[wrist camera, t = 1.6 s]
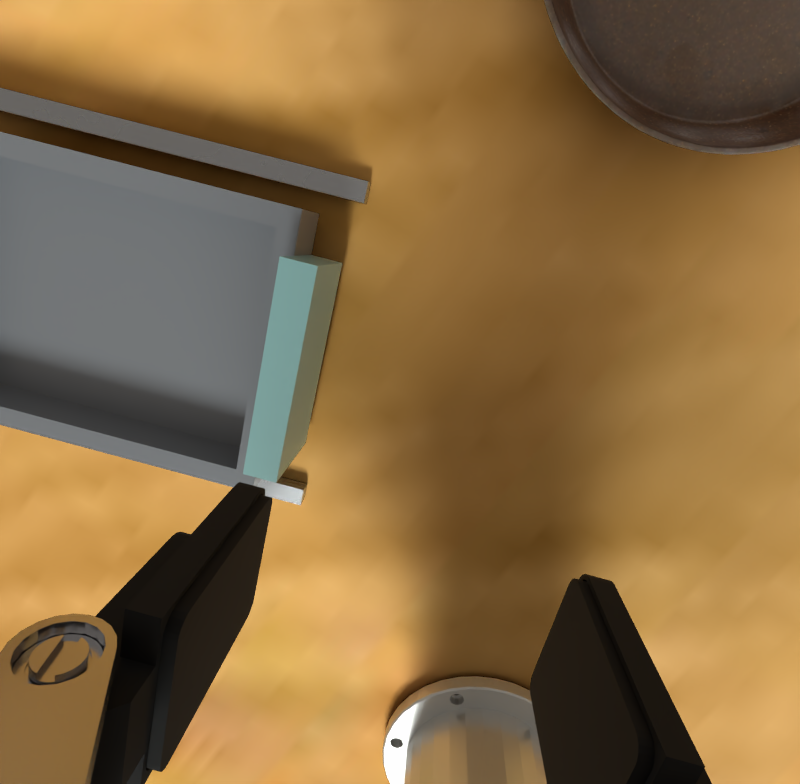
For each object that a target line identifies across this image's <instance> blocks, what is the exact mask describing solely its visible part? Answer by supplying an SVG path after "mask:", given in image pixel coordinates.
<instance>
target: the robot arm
mask: <svg viewBox="0 0 800 784" xmlns="http://www.w3.org/2000/svg"><path fill="white" fill-rule="evenodd" d="M271 506H272V497H268V496H265V489H264V488H261V487H257V486H253V485H250V484H246V483H242V482H238V483H237V484H236V485H235V486H234V487H233V488H232V490H231V491H230V492H229V493H228V494H227V495H226V496H225V497H224V498H223V500H222V501H221V502H220V503H219V504H218V505H217V506H216V507H215V508H214V510H213V511H212V512H211V513H210V514H209V515H208V516H207V517H206V519H205V520H204V521H203V522H202V523H201V524H200V525H199V526H198V527H197V529H196V530H195V531H194V532H193V533H192V534H187V533H183V532H177V533H176V534H174V535H173V536H172V537H171V538H170V539H169V540H168V541H167V542H166V543H165V544H164V545H163V546H162V547H161V548H160V549H159V550H158V552H157V553H156V554H155V555H154V556H153V557H152V558H151V559H150V560H149V561H148V562H147V563H146V564H145V565H144V566H143V567H142V568H141V569H140V570H139V571H138V572H137V573H136V574H135V576H134V577H133V578H132V579H131V580H130V581H129V582H128V583H127V584H126V585H125V586H124V587H123V588H122V589H121V590H120V591H119V592H118V593H117V594H116V595H115V596H114V597H113V598H112V600H111V601H110V602H109V603H108V604H107V605H106V606H105V607H104V608H103V609H102V610H101V611H100V612H99V613H98V614H97V615H96V616H95V617H94V616H91V615H85V614H68V615H60V616H54V617H51V618H48V619H45V620H42V621H39V622H37V623H35V624H33V625H31V626H29V627H27V628H25V629H23V630H22V631H20V632H19V633H18V634H17V635H16V636H14V637H13V638H12V639H11V640H9V641H8V642H7V644H6V645H5V647H4V648H3V650H2V651H1V652H0V784H145V782H146V780H147V779H148V777H149V775H150V773H151V772H152V770H156V771H160V772H162V771H163V770H164V769H165V767H166V766H167V764H168V762H169V761H170V759H171V757H172V755H173V753H174V751H175V750H176V748H177V746H178V744H179V742H180V740H181V739H182V737H183V735H184V733H185V731H186V729H187V728H188V726H189V724H190V722H191V720H192V718H193V717H194V715H195V713H196V711H197V709H198V707H199V705H200V704H201V702H202V700H203V698H204V696H205V694H206V693H207V691H208V689H209V687H210V685H211V683H212V682H213V680H214V678H215V676H216V674H217V672H218V671H219V669H220V667H221V665H222V663H223V661H224V659H225V658H226V656H227V654H228V652H229V650H230V648H231V647H232V645H233V643H234V641H235V639H236V637H237V636H238V634H239V632H240V630H241V628H242V626H243V625H244V623H245V621H246V619H247V617H248V615H249V613H250V610H251V607H252V604H253V600H254V595H255V590H256V585H257V580H258V574H259V569H260V564H261V559H262V553H263V548H264V543H265V538H266V532H267V527H268V522H269V517H270V511H271ZM383 764H384V768H385V772H386V776H387V778H388V780H389V782H390V784H712V783H711V781H710V779H709V777H708V775H707V773H706V771H705V769H704V768H705V766H704V764H703V762H702V760H701V758H700V756H699V754H698V752H697V750H696V748H695V746H694V744H693V742H692V740H691V738H690V736H689V734H688V732H687V730H686V728H685V726H684V724H683V722H682V720H681V718H680V716H679V714H678V712H677V710H676V708H675V706H674V704H673V702H672V700H671V697H670V695H669V693H668V691H667V689H666V687H665V685H664V683H663V681H662V679H661V677H660V675H659V673H658V671H657V669H656V667H655V665H654V663H653V661H652V659H651V657H650V655H649V653H648V651H647V649H646V647H645V645H644V643H643V641H642V639H641V637H640V635H639V633H638V631H637V629H636V627H635V625H634V623H633V621H632V619H631V617H630V615H629V613H628V611H627V609H626V607H625V605H624V603H623V601H622V599H621V597H620V595H619V593H618V591H617V589H616V587H615V585H614V584H613V582H612V581H609V580H605V579H602V578H598V577H594V576H590V575H587V574H584V575H582V576H581V577H580V578H579V580H578V579H575V578H574V579H572V580H571V582H570V584H569V586H568V588H567V591H566V593H565V596H564V598H563V600H562V603H561V605H560V608H559V610H558V613H557V615H556V618H555V620H554V623H553V625H552V628H551V630H550V632H549V635H548V637H547V640H546V642H545V645H544V647H543V650H542V652H541V655H540V657H539V660H538V662H537V664H536V667H535V669H534V672H533V674H532V678H531V683H530V690H528V689H525V688H523V687H521V686H519V685H517V684H514V683H511V682H507V681H504V680H500V679H496V678H488V677H479V676H470V677H455V678H450V679H445V680H440V681H438V682H435V683H432V684H430V685H427V686H425V687H423V688H421V689H419V690H418V691H416V692H414V693H413V694H411V695H410V696H409V697H408V698H406V699H405V700H404V701H403V702H402V703H401V704H400V705H399V706H398V707H397V709H396V710H395V712H394V713H393V715H392V716H391V718H390V720H389V723H388V725H387V728H386V731H385V738H384V744H383Z"/></svg>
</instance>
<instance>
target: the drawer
mask: <svg viewBox="0 0 800 784" xmlns="http://www.w3.org/2000/svg"><path fill="white" fill-rule="evenodd" d="M318 218H319V214H318V213H315V212H311V211H307V210H304V209H300V208H296V207H292V206H288V205H284V204H280V203H277V202H273V201H269V200H265V199H261V198H257V197H253V196H249V195H245V194H241V193H238V192H234V191H230V190H226V189H222V188H218V187H214V186H210V185H206V184H202V183H199V182H195V181H191V180H187V179H183V178H179V177H175V176H171V175H167V174H163V173H160V172H156V171H152V170H148V169H144V168H140V167H136V166H132V165H128V164H124V163H120V162H117V161H113V160H109V159H105V158H101V157H97V156H93V155H89V154H85V153H81V152H78V151H74V150H70V149H66V148H62V147H58V146H54V145H50V144H46V143H42V142H39V141H35V140H31V139H27V138H23V137H19V136H15V135H11V134H7V133H3V132H0V424H1V425H5V426H9V427H13V428H16V429H20V430H24V431H28V432H31V433H35V434H39V435H42V436H46V437H50V438H54V439H57V440H61V441H65V442H69V443H72V444H76V445H80V446H83V447H87V448H91V449H95V450H98V451H102V452H106V453H110V454H113V455H117V456H121V457H125V458H128V459H132V460H136V461H139V462H143V463H147V464H151V465H154V466H158V467H162V468H166V469H169V470H173V471H177V472H181V473H184V474H188V475H192V476H195V477H199V478H203V479H207V480H210V481H214V482H218V483H222V484H225V485H229V486H233V487H234V486H235V485H236V484H237V483H238V482H242V483H246V484H250V485H253V486H257V485H258V484H259V483H260V482H261V480H262V479H264V480H267V481H271V482H275V483H277V481H278V480H279V478H280V477H281V476H282V474H283V473H284V472H285V470H286V469H287V468H288V466H289V465H290V463H291V462H292V461H293V459H294V458H295V457H296V455H297V454H298V452H299V451H300V450H301V448H302V447H303V446H304V444H305V443H306V438H307V433H308V428H309V423H310V419H311V414H312V409H313V404H314V399H315V394H316V389H317V384H318V380H319V375H320V370H321V365H322V360H323V355H324V350H325V345H326V341H327V336H328V331H329V326H330V321H331V316H332V311H333V306H334V302H335V297H336V292H337V287H338V282H339V277H340V272H341V267H342V263H341V262H337V261H333V260H329V259H325V258H322V257H318V256H314V255H312V250H313V245H314V239H315V234H316V228H317V223H318Z"/></svg>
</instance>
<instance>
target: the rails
mask: <svg viewBox="0 0 800 784" xmlns="http://www.w3.org/2000/svg"><path fill="white" fill-rule="evenodd" d="M0 111H3V112H7V113H10V114H14V115H18V116H22V117H26V118H30V119H34V120H38V121H42V122H46V123H50V124H54V125H57V126H61V127H65V128H69V129H73V130H77V131H81V132H85V133H89V134H93V135H97V136H101V137H104V138H108V139H112V140H116V141H120V142H124V143H128V144H132V145H136V146H140V147H144V148H148V149H151V150H155V151H159V152H163V153H167V154H171V155H175V156H179V157H183V158H187V159H191V160H194V161H198V162H202V163H206V164H210V165H214V166H218V167H222V168H226V169H230V170H234V171H238V172H241V173H245V174H249V175H253V176H257V177H261V178H265V179H269V180H273V181H277V182H281V183H285V184H288V185H292V186H296V187H300V188H304V189H308V190H312V191H316V192H320V193H324V194H328V195H332V196H335V197H339V198H343V199H347V200H351V201H355V202H359V203H363V204H367V199H368V194H369V190H370V185H371V183H370V182H368V181H365V180H361V179H357V178H353V177H349V176H345V175H341V174H337V173H333V172H329V171H325V170H321V169H317V168H314V167H310V166H306V165H302V164H298V163H294V162H290V161H286V160H282V159H278V158H274V157H270V156H266V155H262V154H258V153H255V152H251V151H247V150H243V149H239V148H235V147H231V146H227V145H223V144H219V143H215V142H211V141H207V140H203V139H200V138H196V137H192V136H188V135H184V134H180V133H176V132H172V131H168V130H164V129H160V128H156V127H152V126H148V125H145V124H141V123H137V122H133V121H129V120H125V119H121V118H117V117H113V116H109V115H105V114H101V113H97V112H93V111H90V110H86V109H82V108H78V107H74V106H70V105H66V104H62V103H58V102H54V101H50V100H46V99H42V98H38V97H35V96H31V95H27V94H23V93H19V92H15V91H11V90H7V89H3V88H0ZM0 425H1V424H0ZM3 426H5V425H3ZM7 427H9V426H7ZM11 428H13V427H11ZM14 429H16V428H14ZM18 430H20V429H18ZM22 431H24V430H22ZM25 432H28V431H25ZM29 433H31V432H29ZM33 434H35V433H33ZM37 435H39V434H37ZM40 436H42V435H40ZM44 437H46V436H44ZM48 438H50V437H48ZM52 439H54V438H52ZM55 440H57V439H55ZM59 441H61V440H59ZM63 442H65V441H63ZM67 443H69V442H67ZM70 444H72V443H70ZM74 445H76V444H74ZM78 446H80V445H78ZM81 447H83V446H81ZM85 448H87V447H85ZM89 449H91V448H89ZM93 450H95V449H93ZM96 451H98V450H96ZM100 452H102V451H100ZM104 453H106V452H104ZM108 454H110V453H108ZM111 455H113V454H111ZM115 456H117V455H115ZM119 457H121V456H119ZM123 458H125V457H123ZM126 459H128V458H126ZM130 460H132V459H130ZM134 461H136V460H134ZM137 462H139V461H137ZM141 463H143V462H141ZM145 464H147V463H145ZM149 465H151V464H149ZM152 466H154V465H152ZM156 467H158V466H156ZM160 468H162V467H160ZM164 469H166V468H164ZM167 470H169V469H167ZM171 471H173V470H171ZM175 472H177V471H175ZM178 473H181V472H178ZM182 474H184V473H182ZM186 475H188V474H186ZM190 476H192V475H190ZM193 477H195V476H193ZM197 478H199V477H197ZM201 479H203V478H201ZM205 480H207V479H205ZM208 481H210V480H208ZM212 482H214V481H212ZM216 483H218V482H216ZM220 484H222V483H220ZM223 485H225V484H223ZM227 486H229V485H227ZM231 487H233V486H231ZM257 487H261V488H264V489H265V496H268V497H272V498H275V499H279V500H283V501H287V502H290V503H294V504H298V505H301V503H302V501H303V500H304V497H305V492H306V487H307V484H305V483H302V482H298V481H294V480H290V479H287V478H283V477H280V478H279V480H278V481H277V483H275V482H271V481H267V480H264V479H262V480H261V482H260V483H259V484H258V485H257Z"/></svg>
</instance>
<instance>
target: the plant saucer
mask: <svg viewBox="0 0 800 784" xmlns="http://www.w3.org/2000/svg"><path fill="white" fill-rule="evenodd" d="M544 2H545V6H546V9H547V12H548V15H549V18H550V21H551V24H552V26H553V29H554V31H555V34H556V36H557V39H558V41H559V43H560V45H561V46H562V48H563V50H564V52H565V54H566V56H567V58H568V59H569V61H570V63H571V64H572V66H573V67H574V69H575V70H576V72H577V73H578V75H579V76H580V78H581V79H582V80H583V81H584V83H585V84H586V85H587V86H588V87H589V89H590V90H591V91H592V92H593V93H594V94H595V95H596V97H598V98H599V99H600V100H601V101H602V102H603V103H604V104H605V105H606V106H607V107H608V108H609V109H610V110H612V111H613V112H614V113H615V114H616V115H618V116H619V117H620V118H622V119H623V120H624V121H626V122H627V123H629V124H630V125H632V126H633V127H635V128H637V129H638V130H640V131H641V132H643V133H646V134H648V135H650V136H652V137H654V138H656V139H658V140H661V141H663V142H666V143H668V144H671V145H675V146H678V147H681V148H686V149H690V150H694V151H699V152H706V153H714V154H753V153H763V152H770V151H776V150H781V149H785V148H789V147H793V146H796V145H800V0H544Z"/></svg>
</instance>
